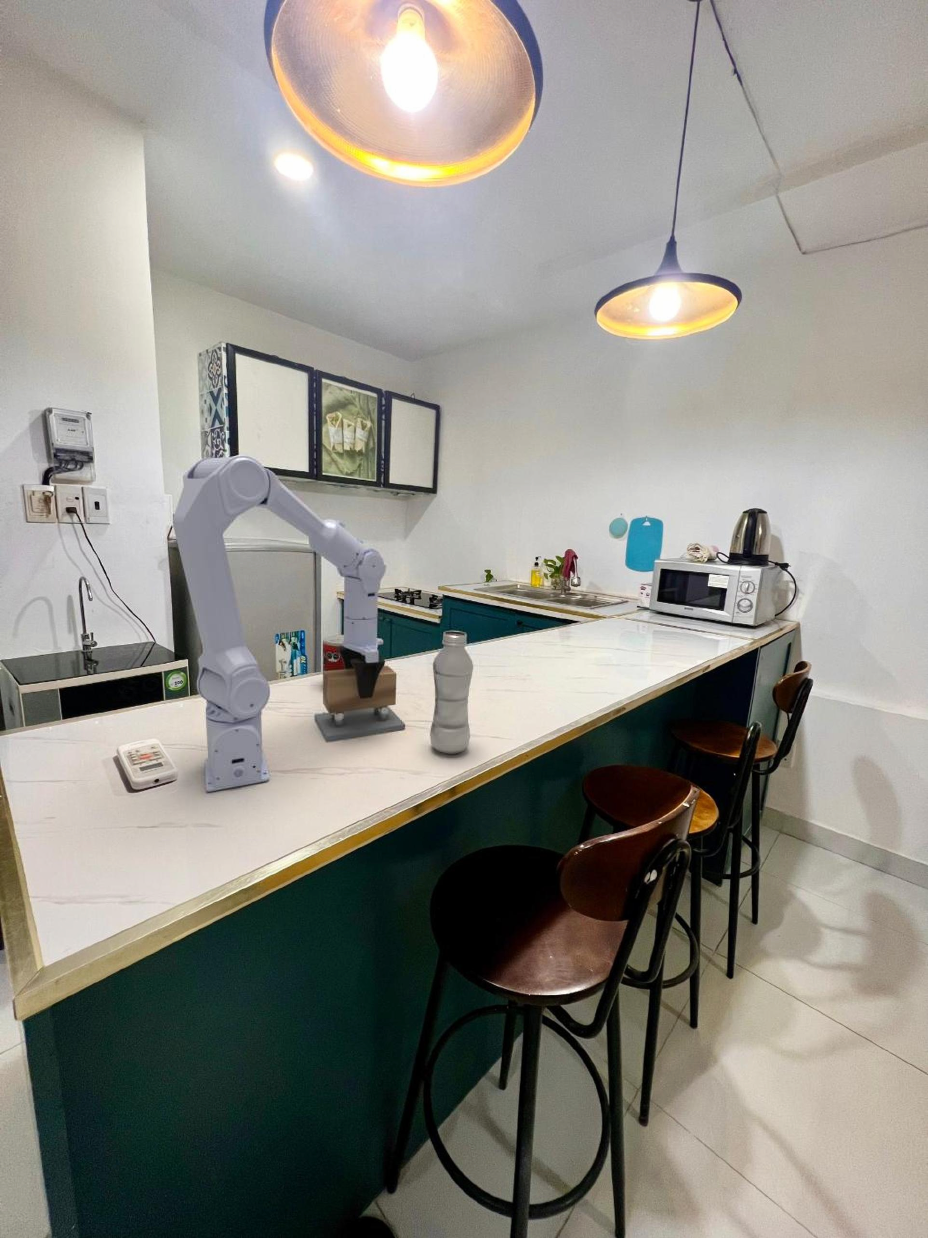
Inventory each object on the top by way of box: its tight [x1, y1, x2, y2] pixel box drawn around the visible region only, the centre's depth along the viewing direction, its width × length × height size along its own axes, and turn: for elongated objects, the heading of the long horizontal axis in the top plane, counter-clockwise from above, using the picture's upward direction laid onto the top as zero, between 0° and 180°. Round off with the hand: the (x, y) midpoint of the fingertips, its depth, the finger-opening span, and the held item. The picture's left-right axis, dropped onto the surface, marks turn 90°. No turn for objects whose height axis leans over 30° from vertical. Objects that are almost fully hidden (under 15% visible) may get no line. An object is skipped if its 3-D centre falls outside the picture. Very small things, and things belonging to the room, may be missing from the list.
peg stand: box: [314, 706, 406, 743], centre depth 89 cm, size 10×14×4 cm
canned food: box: [322, 634, 345, 672], centre depth 107 cm, size 8×8×11 cm
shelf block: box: [322, 665, 397, 713], centre depth 88 cm, size 5×12×6 cm, turn 118°
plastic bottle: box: [429, 630, 474, 755], centre depth 80 cm, size 6×7×20 cm
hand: (359, 690), depth 88 cm, fingers open, 7 cm apart
